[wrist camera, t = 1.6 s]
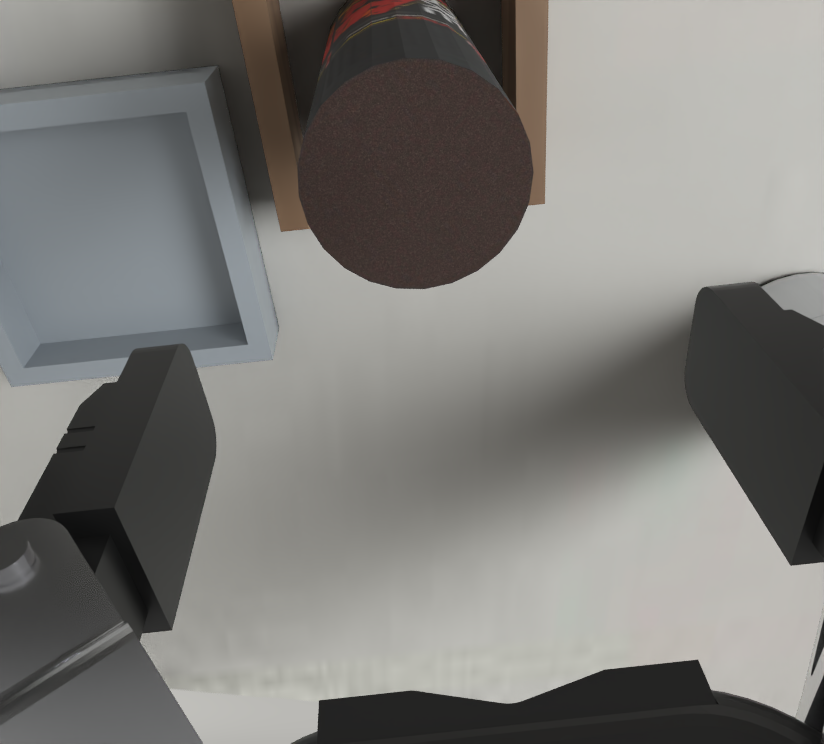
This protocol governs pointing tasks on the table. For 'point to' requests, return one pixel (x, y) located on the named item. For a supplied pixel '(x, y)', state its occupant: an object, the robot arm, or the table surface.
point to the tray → (125, 228)
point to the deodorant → (411, 148)
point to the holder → (280, 112)
